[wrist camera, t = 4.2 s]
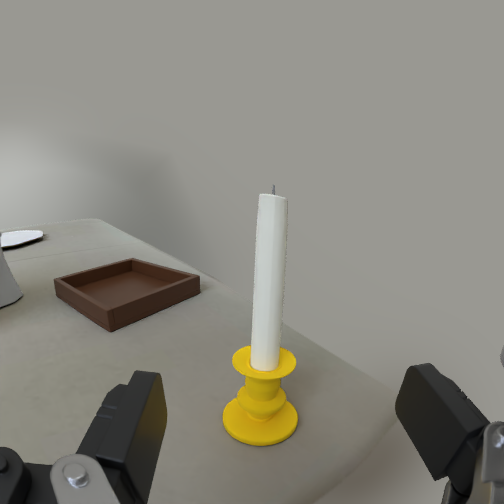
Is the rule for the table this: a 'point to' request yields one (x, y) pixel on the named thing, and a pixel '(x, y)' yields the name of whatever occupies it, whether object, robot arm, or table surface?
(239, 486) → the table surface
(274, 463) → the table surface
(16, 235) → the plate
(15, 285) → the flask
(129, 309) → the tray
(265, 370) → the candle
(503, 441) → the robot arm
